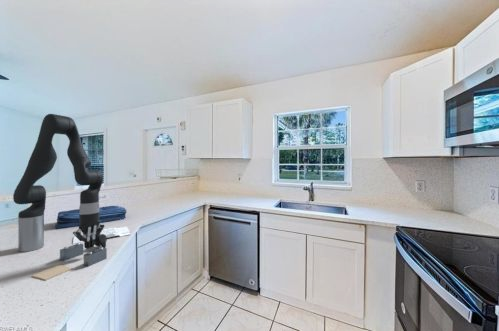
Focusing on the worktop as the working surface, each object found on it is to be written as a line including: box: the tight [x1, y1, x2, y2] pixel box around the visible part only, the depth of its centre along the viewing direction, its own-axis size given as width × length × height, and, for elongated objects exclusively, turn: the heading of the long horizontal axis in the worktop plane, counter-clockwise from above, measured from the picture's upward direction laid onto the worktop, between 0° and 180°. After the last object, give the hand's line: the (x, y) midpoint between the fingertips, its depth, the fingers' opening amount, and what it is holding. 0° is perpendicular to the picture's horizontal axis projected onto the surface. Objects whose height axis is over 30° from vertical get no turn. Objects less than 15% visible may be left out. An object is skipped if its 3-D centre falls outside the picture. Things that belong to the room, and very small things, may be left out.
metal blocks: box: [59, 242, 108, 267], centre depth 95 cm, size 19×8×6 cm, turn 72°
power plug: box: [94, 234, 108, 248], centre depth 107 cm, size 6×8×12 cm
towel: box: [54, 205, 127, 230], centre depth 159 cm, size 24×43×10 cm, turn 132°
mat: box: [31, 264, 74, 281], centre depth 83 cm, size 9×9×1 cm
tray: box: [72, 225, 131, 245], centre depth 127 cm, size 20×28×4 cm
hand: (89, 247), depth 97 cm, fingers closed
